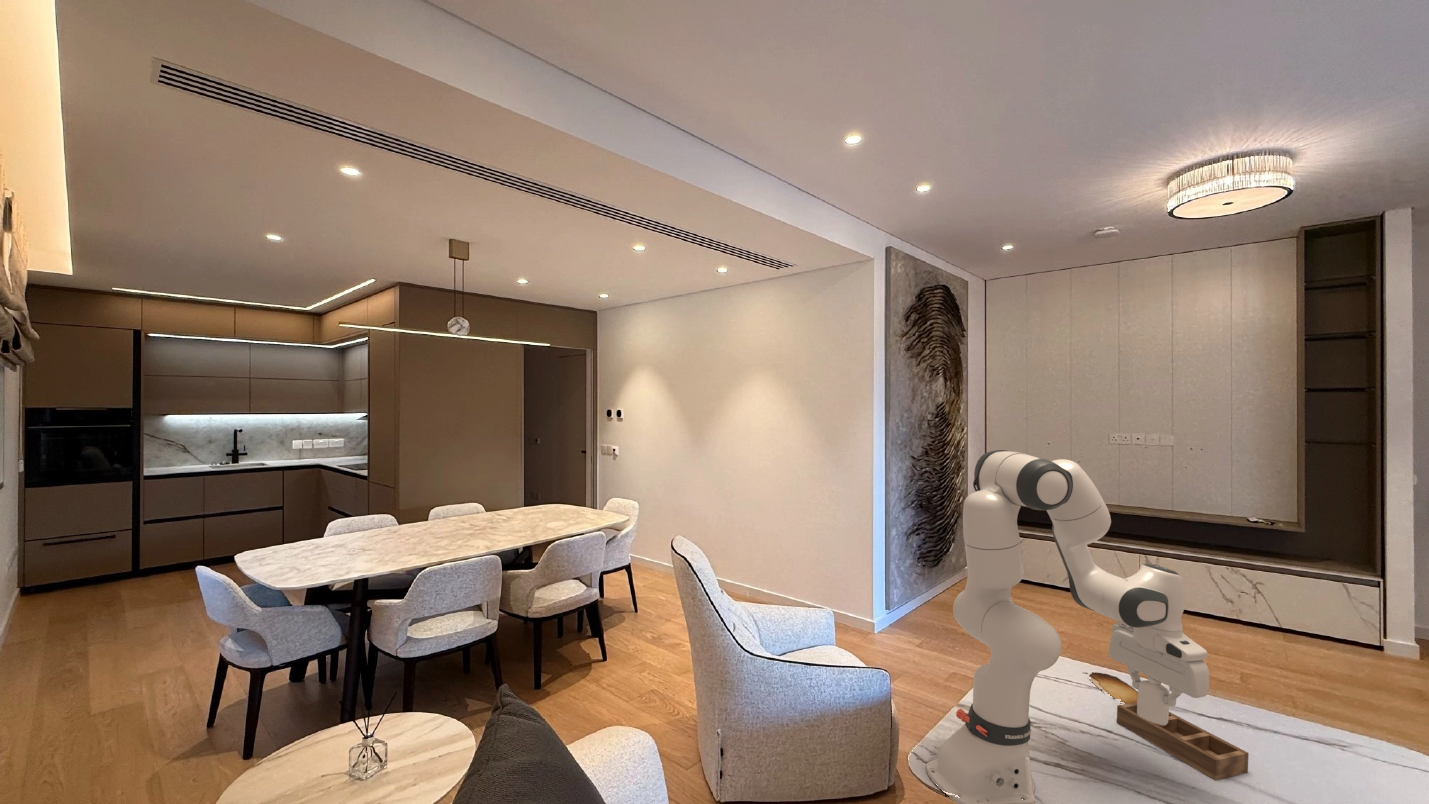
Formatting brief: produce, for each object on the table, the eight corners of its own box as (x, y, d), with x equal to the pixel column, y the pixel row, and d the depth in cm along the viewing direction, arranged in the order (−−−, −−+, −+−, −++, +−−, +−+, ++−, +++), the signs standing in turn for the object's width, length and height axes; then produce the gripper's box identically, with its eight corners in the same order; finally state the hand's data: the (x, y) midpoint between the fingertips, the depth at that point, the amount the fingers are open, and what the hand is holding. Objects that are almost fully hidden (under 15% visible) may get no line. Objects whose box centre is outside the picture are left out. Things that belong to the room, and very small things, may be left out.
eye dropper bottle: (1149, 712, 134) (1152, 661, 134) (1171, 726, 129) (1175, 673, 128) (1133, 713, 133) (1136, 662, 133) (1155, 727, 128) (1158, 673, 128)
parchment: (1080, 672, 176) (1080, 669, 176) (1114, 674, 175) (1114, 671, 175) (1128, 719, 151) (1128, 716, 151) (1168, 722, 150) (1168, 718, 150)
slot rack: (1215, 780, 127) (1216, 760, 127) (1116, 722, 148) (1117, 705, 148) (1247, 772, 130) (1248, 753, 130) (1146, 717, 151) (1146, 700, 151)
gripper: (1103, 619, 140) (1100, 675, 140) (1195, 657, 120) (1191, 722, 120) (1123, 617, 142) (1119, 673, 142) (1216, 655, 122) (1212, 719, 122)
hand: (1153, 696), depth 131 cm, fingers closed on eye dropper bottle, 6 cm apart
